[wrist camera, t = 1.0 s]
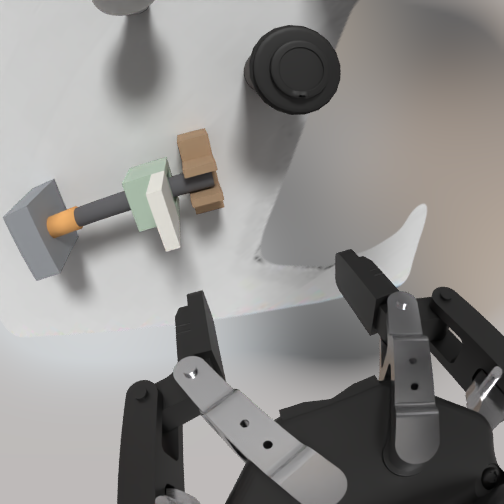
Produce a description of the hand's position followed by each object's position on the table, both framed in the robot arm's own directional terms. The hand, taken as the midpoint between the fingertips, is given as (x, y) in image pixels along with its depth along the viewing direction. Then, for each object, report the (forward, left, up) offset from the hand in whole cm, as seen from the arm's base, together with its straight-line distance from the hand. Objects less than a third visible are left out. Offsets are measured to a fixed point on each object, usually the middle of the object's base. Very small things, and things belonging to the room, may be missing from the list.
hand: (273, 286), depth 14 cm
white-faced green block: (+7, 0, -20) cm, 21 cm away
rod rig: (+11, 0, -23) cm, 25 cm away
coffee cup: (-8, -9, -23) cm, 26 cm away
